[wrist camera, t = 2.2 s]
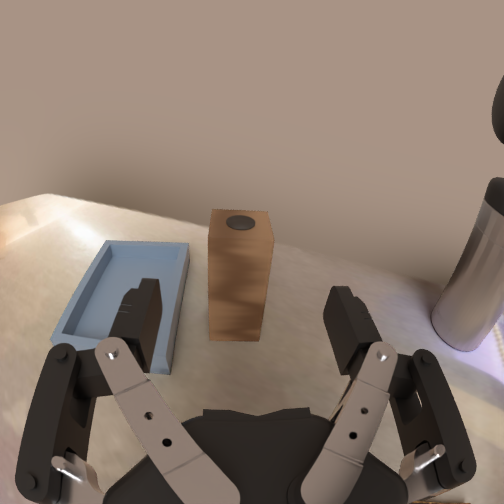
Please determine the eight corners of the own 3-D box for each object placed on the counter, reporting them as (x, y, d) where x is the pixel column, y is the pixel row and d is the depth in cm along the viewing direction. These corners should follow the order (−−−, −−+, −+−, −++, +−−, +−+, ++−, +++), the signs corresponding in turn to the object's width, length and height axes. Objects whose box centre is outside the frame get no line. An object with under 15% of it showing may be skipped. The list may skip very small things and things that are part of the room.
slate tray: (189, 261, 39) (188, 243, 37) (170, 374, 24) (165, 356, 22) (109, 258, 38) (106, 240, 36) (61, 358, 23) (50, 339, 21)
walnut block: (255, 307, 32) (267, 210, 26) (258, 341, 28) (274, 238, 22) (211, 306, 32) (212, 207, 25) (209, 340, 28) (208, 235, 21)
